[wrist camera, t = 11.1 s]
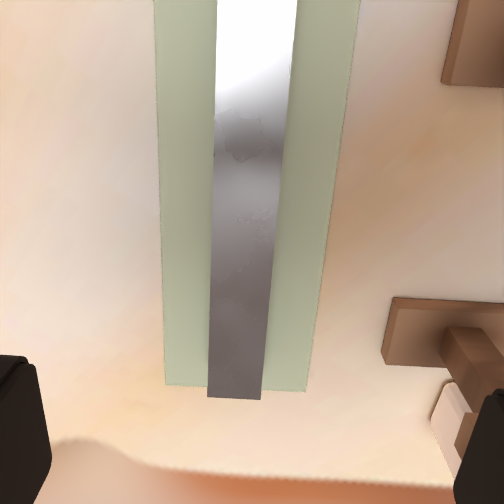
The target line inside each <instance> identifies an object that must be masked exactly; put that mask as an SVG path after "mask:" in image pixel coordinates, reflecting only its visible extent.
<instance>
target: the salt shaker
mask: <svg viewBox="0 0 504 504" xmlns="http://www.w3.org/2000/svg"><path fill="white" fill-rule="evenodd" d="M465 412H469V413H473V412H472V410H471V409H470V407H469V405H468V404H467V402H466V400H465V398H464V397H463V395H462V393H461V391H460V390H459V388H458V386H457V384H456V383H455V382H451V383H447V384H446V385H445V386H444V388H443V390H442V393H441V395H440V398H439V400H438V402H437V405H436V407H435V410H434V412H433V414H432V417H431V429H432V431H433V433H434V435H435V438H436V440H437V442H438V444H439V446H440V449H441V451H442V453H443V455H444V458H445V460H446V462H447V464H448V467H449V469H450V471H451V473H452V475H453V478H454V480H455V478H456V475H457V473H458V470H459V467H460V464H461V462H462V461H461V459H460V457H459V455H458V453H457V450H456V448H455V446H454V443H455V440H456V437H457V434H458V431H459V428H460V425H461V422H462V420H463V417H464V414H465Z"/></svg>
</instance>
